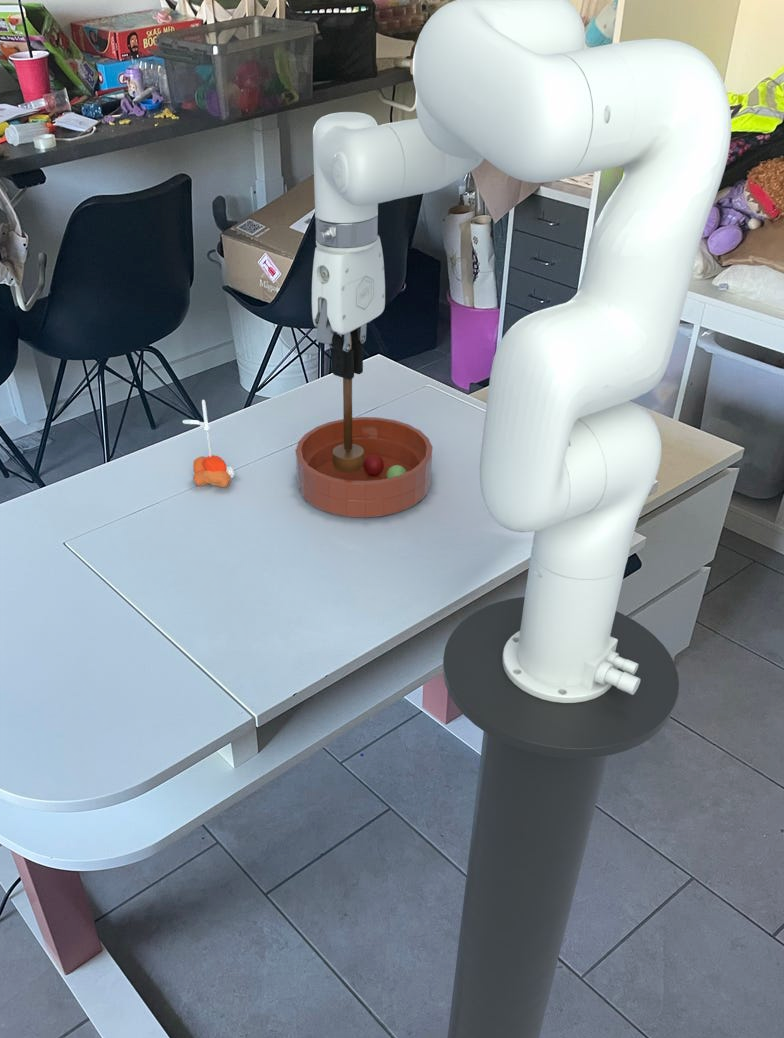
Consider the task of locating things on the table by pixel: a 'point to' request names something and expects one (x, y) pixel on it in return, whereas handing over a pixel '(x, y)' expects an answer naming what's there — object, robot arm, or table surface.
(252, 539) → the table surface
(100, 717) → the table surface
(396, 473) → the green bead
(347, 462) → the wooden masher
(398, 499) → the bowl
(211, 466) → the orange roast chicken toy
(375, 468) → the red bead
